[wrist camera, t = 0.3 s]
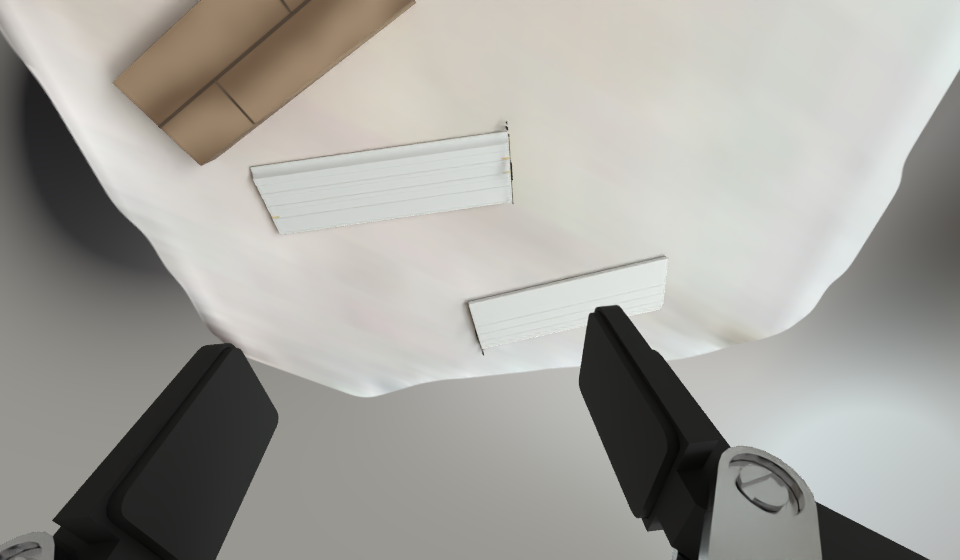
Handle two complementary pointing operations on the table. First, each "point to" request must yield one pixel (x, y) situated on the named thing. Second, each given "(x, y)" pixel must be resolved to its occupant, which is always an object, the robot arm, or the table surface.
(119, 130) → the table surface
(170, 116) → the plank row
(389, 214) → the baseboard
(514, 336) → the baseboard molding
